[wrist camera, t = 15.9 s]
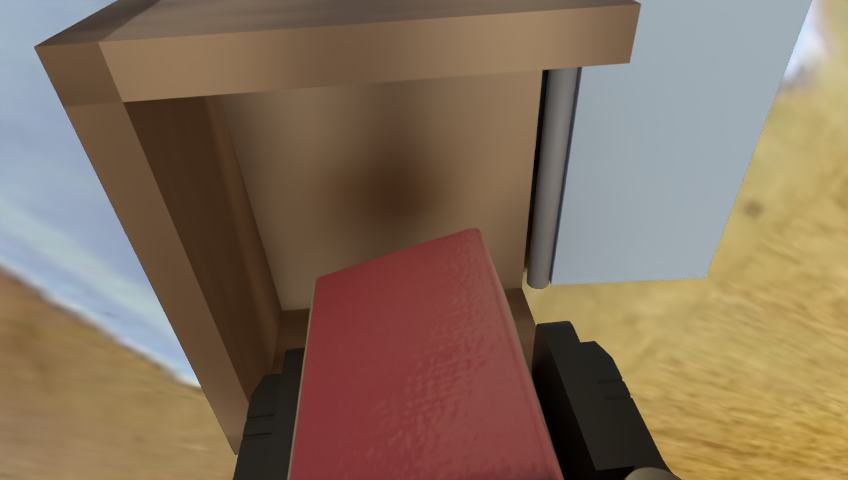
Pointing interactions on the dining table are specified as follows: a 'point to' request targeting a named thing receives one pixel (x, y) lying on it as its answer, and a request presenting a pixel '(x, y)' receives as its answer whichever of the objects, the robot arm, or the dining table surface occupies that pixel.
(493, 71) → the open wooden box
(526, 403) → the small box
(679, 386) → the dining table surface
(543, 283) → the panel
